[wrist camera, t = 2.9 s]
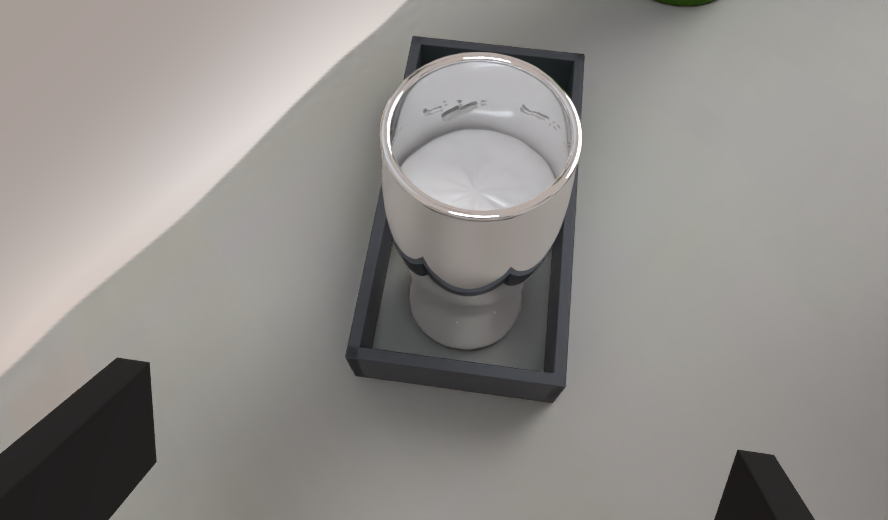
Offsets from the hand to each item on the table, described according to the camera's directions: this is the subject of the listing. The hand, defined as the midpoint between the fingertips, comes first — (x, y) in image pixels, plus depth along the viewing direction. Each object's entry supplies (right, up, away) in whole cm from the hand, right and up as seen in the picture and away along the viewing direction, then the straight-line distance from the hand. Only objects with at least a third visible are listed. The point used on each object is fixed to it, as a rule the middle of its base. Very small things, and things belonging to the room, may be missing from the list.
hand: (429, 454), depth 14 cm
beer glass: (+1, +2, +20) cm, 20 cm away
